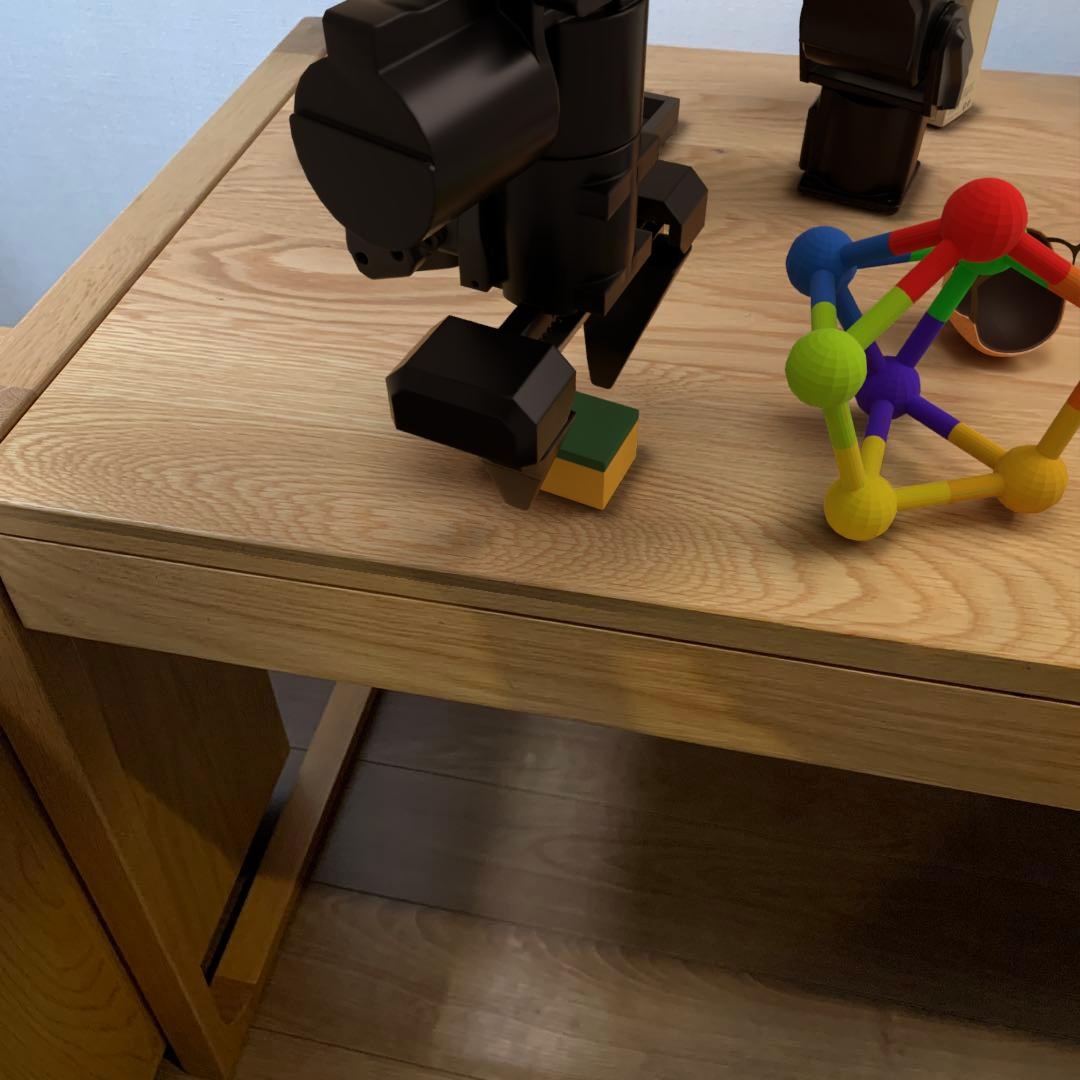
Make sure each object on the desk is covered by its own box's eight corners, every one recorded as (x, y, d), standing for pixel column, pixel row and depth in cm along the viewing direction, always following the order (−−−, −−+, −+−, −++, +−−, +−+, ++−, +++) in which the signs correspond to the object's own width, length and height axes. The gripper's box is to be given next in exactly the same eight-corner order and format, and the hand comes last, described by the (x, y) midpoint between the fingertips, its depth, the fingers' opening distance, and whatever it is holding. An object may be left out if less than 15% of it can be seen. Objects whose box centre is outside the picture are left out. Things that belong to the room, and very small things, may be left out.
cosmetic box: (972, 109, 75) (1027, -83, 66) (941, 131, 73) (994, -65, 64) (891, 82, 78) (934, -105, 69) (859, 103, 76) (899, -88, 67)
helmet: (1129, 307, 50) (1059, 347, 58) (1078, 174, 50) (1015, 231, 58) (1008, 348, 50) (955, 382, 58) (959, 215, 50) (912, 267, 58)
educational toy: (931, 351, 57) (1045, 73, 46) (1091, 521, 49) (1275, 236, 38) (669, 408, 53) (722, 118, 42) (797, 604, 45) (906, 311, 34)
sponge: (524, 422, 53) (523, 374, 51) (636, 457, 51) (639, 409, 49) (487, 472, 51) (484, 424, 49) (602, 510, 49) (604, 463, 47)
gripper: (486, -6, 47) (501, 295, 58) (224, 195, 35) (306, 519, 47) (729, 37, 43) (693, 348, 55) (524, 275, 32) (534, 603, 44)
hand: (562, 442), depth 50 cm, fingers open, 9 cm apart
